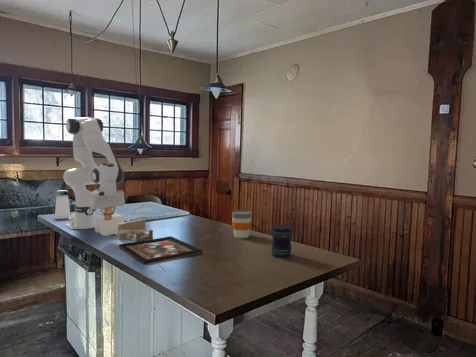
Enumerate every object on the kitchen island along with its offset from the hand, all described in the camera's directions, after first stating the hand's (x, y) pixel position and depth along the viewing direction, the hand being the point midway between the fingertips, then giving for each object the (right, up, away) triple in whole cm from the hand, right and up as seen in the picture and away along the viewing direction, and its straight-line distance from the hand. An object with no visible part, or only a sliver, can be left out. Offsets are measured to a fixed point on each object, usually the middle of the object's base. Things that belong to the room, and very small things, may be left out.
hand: (108, 215), depth 206 cm
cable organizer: (-4, -13, +15) cm, 20 cm away
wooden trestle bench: (+16, -14, +5) cm, 22 cm away
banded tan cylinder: (0, -3, 0) cm, 3 cm away
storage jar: (+97, -18, -24) cm, 101 cm away
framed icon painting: (+34, -17, -18) cm, 42 cm away
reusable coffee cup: (+77, -15, +14) cm, 80 cm away
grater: (-56, -8, +60) cm, 83 cm away
